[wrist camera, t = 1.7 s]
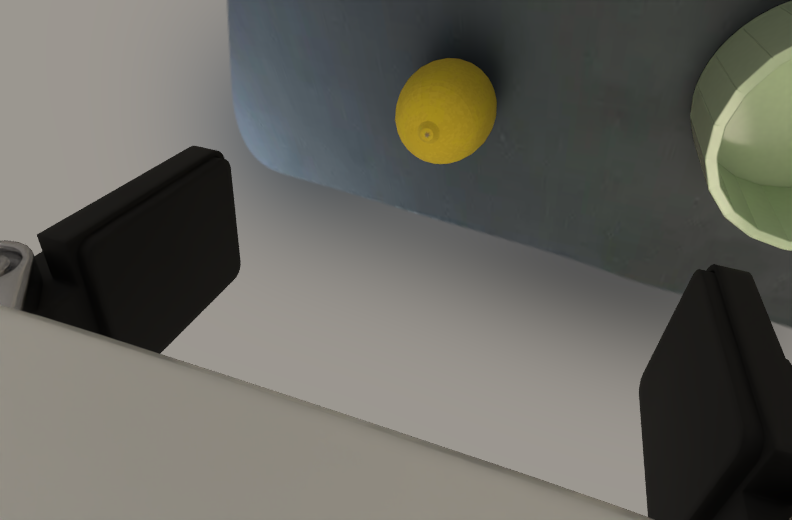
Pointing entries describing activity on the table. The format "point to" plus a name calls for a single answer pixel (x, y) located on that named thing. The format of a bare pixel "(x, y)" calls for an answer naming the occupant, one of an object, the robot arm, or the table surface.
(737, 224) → the cup
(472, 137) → the lemon
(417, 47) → the table surface
